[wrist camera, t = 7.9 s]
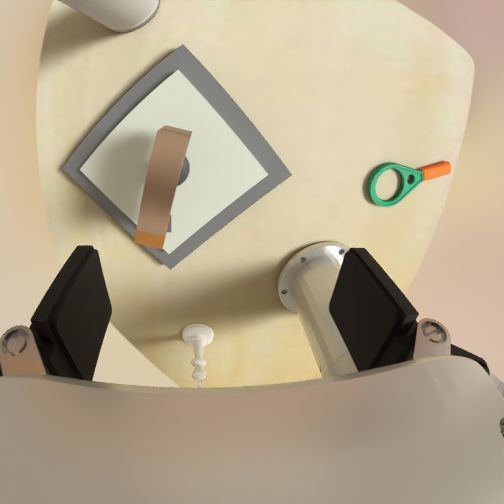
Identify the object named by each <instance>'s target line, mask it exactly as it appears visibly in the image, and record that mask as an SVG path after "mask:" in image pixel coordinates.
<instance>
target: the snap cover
mask: <svg viewBox="0 0 504 504" xmlns="http://www.w3.org/2000/svg"><path fill="white" fill-rule="evenodd" d="M165 125H166V126H171V127H175V128H180V129H184V130H188V131H192V135H191V138H190V141H189V145H188V148H187V151H186V155H185V158H184V162H183V165H182V169H181V174H180V177H179V180H178V184H177V188H176V192H175V196H174V200H173V204H172V209H171V213H170V220H169V224H168V228H167V233H166V237H165V241H164V245H163V249H158V248H154V247H149V246H145V245H143V246H144V247H145V248H146V249H147V250H148V251H150V252H151V253H152V254H153V255H154V256H155V257H156V258H158V259H159V260H160V261H161V262H162V263H163V264H165V265H166V266H167V267H168V268H169V269H170V270H171V269H172V268H173V267H174V266H175V265H177V264H178V263H179V262H180V261H182V260H183V259H184V258H185V257H186V256H188V255H189V254H190V253H191V252H193V251H194V250H195V249H196V248H198V247H199V246H200V245H201V244H203V243H204V242H205V241H206V240H208V239H209V238H210V237H211V236H213V235H214V234H215V233H216V232H218V231H219V230H220V229H222V228H223V227H224V226H225V225H227V224H228V223H229V222H230V221H232V220H233V219H234V218H236V217H237V216H238V215H240V214H241V213H242V212H243V211H245V210H246V209H247V208H249V207H250V206H251V205H253V204H254V203H255V202H256V201H258V200H259V199H260V198H262V197H263V196H264V195H266V194H267V193H268V192H270V191H271V190H272V189H274V188H275V187H276V186H278V185H279V184H280V183H282V182H283V181H284V180H286V179H287V178H289V177H290V176H291V175H292V174H291V173H290V172H289V170H288V169H287V167H286V166H285V165H284V163H283V162H282V161H281V159H280V158H279V157H278V155H277V154H276V153H275V151H274V150H273V149H272V147H271V146H270V145H269V144H268V142H267V141H266V140H265V138H264V137H263V136H262V135H261V133H260V132H259V131H258V130H257V128H256V127H255V126H254V124H253V123H252V122H251V121H250V120H249V118H248V117H247V116H246V115H245V113H244V112H243V111H242V110H241V109H240V107H239V106H238V105H237V104H236V103H235V101H234V100H233V99H232V98H231V97H230V95H229V94H228V93H227V92H226V91H225V90H224V89H223V87H222V86H221V85H220V84H219V83H218V82H217V81H216V79H215V78H214V77H213V76H212V75H211V74H210V73H209V72H208V70H207V69H206V68H205V67H204V66H203V65H202V64H201V63H200V62H199V61H198V60H197V59H196V57H195V56H194V55H193V54H192V53H191V52H190V51H189V50H188V49H187V48H186V47H185V46H184V45H182V46H180V47H179V48H178V49H176V50H175V51H174V52H172V53H171V54H170V55H169V56H167V57H166V58H165V59H164V60H162V61H161V62H160V63H159V64H158V65H157V66H155V67H154V68H153V69H152V70H151V71H150V72H148V73H147V74H146V75H145V76H144V77H143V78H142V79H141V80H140V81H138V82H137V83H136V84H135V85H134V86H133V87H132V88H131V89H130V90H129V91H128V92H127V93H126V94H125V95H124V96H123V97H122V98H121V99H120V100H119V101H118V102H117V103H116V104H115V105H114V106H113V107H112V108H111V109H110V110H109V111H108V113H107V114H106V115H105V116H104V117H103V118H102V119H101V120H100V121H99V122H98V124H97V125H96V126H95V127H94V128H93V129H92V131H91V132H90V133H89V134H88V135H87V137H86V138H85V139H84V140H83V141H82V143H81V144H80V145H79V147H78V148H77V149H76V150H75V152H74V153H73V154H72V156H71V157H70V158H69V160H68V161H67V162H66V164H65V165H64V166H63V168H62V169H63V170H64V171H65V172H66V173H67V174H68V175H69V176H70V177H71V178H72V179H73V180H74V181H75V182H76V183H77V184H78V185H79V186H80V187H81V188H82V189H83V190H84V191H85V192H86V193H87V194H88V195H89V196H90V197H91V198H92V199H93V200H94V201H95V202H96V203H97V204H98V205H99V206H100V207H101V208H102V209H103V210H105V211H106V212H107V213H108V214H109V215H110V216H111V217H112V218H113V219H114V220H115V221H116V222H117V223H118V224H119V225H121V226H122V227H123V228H124V229H125V230H126V231H127V232H128V233H129V234H130V235H132V236H133V237H134V238H135V232H136V229H137V224H138V217H139V211H140V206H141V200H142V195H143V190H144V185H145V180H146V175H147V171H148V166H149V162H150V158H151V153H152V149H153V145H154V141H155V138H156V134H157V131H158V130H159V129H161V128H162V127H164V126H165Z"/></svg>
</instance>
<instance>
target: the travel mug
mask: <svg viewBox="0 0 504 504" xmlns="http://www.w3.org/2000/svg"><path fill="white" fill-rule="evenodd" d="M58 1H60V2H62V3H64V4H66V5H68V6H70V7H72V8H74V9H76V10H78V11H79V12H81V13H83V14H85V15H87V16H88V17H90V18H92V19H94V20H95V21H97V22H99V23H101V24H102V25H104V26H106V27H107V28H109V29H111V30H113V31H116V32H130V31H133V30H136V29H138V28H140V27H142V26H144V25H145V24H147V23H148V22H149V21H150V20H151V19H152V18H153V17H154V16H155V14H156V13H157V11H158V9H159V5H160V0H58Z"/></svg>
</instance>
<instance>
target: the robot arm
mask: <svg viewBox="0 0 504 504" xmlns="http://www.w3.org/2000/svg"><path fill="white" fill-rule="evenodd" d="M277 289H278V294H279V297H280V300H281V302H282V303H283V305H284V306H285V307H286V308H287V309H288V310H290V311H292V312H294V313H297V314H298V315H299V318H300V320H301V323H302V326H303V328H304V331H305V333H306V336H307V338H308V341H309V344H310V346H311V349H312V351H313V354H314V356H315V359H316V362H317V364H318V367H319V370H320V372H321V375H322V377H323V378H321V379H314V380H306V381H299V382H290V383H281V384H271V385H259V386H244V387H220V388H172V387H170V388H169V387H149V386H135V385H122V384H113V383H104V382H95V381H92V379H93V375H94V371H95V367H96V364H97V360H98V356H99V353H100V349H101V346H102V342H103V339H104V336H105V333H106V330H107V326H108V323H109V320H110V317H111V313H112V307H111V303H110V299H109V296H108V292H107V288H106V284H105V280H104V276H103V272H102V267H101V263H100V258H99V254H98V251H97V250H96V249H94V248H93V246H77V247H76V248H75V250H74V251H73V253H72V254H71V256H70V257H69V258H68V260H67V261H66V263H65V264H64V266H63V267H62V269H61V270H60V272H59V273H58V275H57V276H56V278H55V280H54V281H53V283H52V284H51V286H50V287H49V289H48V291H47V292H46V294H45V296H44V297H43V299H42V301H41V302H40V304H39V306H38V308H37V309H36V311H35V313H34V315H33V316H32V318H31V322H32V324H31V326H30V328H28V327H26V326H22V325H21V326H15V327H12V328H10V329H9V330H7V331H6V332H5V333H4V334H3V335H2V337H1V339H0V504H504V383H503V382H502V381H500V380H499V379H498V378H497V377H495V376H494V375H493V374H491V375H490V373H489V368H488V366H487V364H486V362H485V360H483V359H482V358H480V357H478V356H476V355H474V354H472V353H469V352H467V351H465V350H463V349H461V348H459V347H457V346H455V345H452V344H450V334H449V332H448V330H447V329H446V328H445V327H444V326H443V325H442V324H441V323H440V322H438V321H436V320H433V319H429V318H425V319H422V320H421V321H419V322H418V323H417V321H416V318H417V316H418V314H419V313H418V312H417V311H416V309H415V308H414V307H413V306H412V304H411V303H410V302H409V301H408V299H407V298H406V297H405V295H404V294H403V293H402V292H401V290H400V289H399V288H398V287H397V285H396V284H395V283H394V282H393V281H392V279H391V278H390V277H389V276H388V275H387V273H386V272H385V271H384V270H383V269H382V267H381V266H380V265H379V264H378V263H377V262H376V260H375V259H374V258H373V257H372V256H371V255H370V254H369V252H368V251H367V250H366V249H365V248H349V247H347V246H346V245H344V244H341V243H338V242H321V243H317V244H314V245H311V246H309V247H306V248H304V249H303V250H301V251H300V252H298V253H297V254H295V255H294V256H293V257H292V258H291V259H290V260H289V261H288V262H287V263H286V265H285V266H284V268H283V269H282V271H281V273H280V276H279V279H278V285H277Z"/></svg>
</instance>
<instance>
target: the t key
mask: <svg viewBox="0 0 504 504" xmlns="http://www.w3.org/2000/svg"><path fill="white" fill-rule="evenodd" d="M191 135H192V131H188V130H184V129H180V128H175V127H171V126H166V125H165V126H164V127H162V128H161V129H159V130H158V131H157V134H156V138H155V141H154V145H153V149H152V153H151V158H150V162H149V166H148V171H147V175H146V180H145V185H144V190H143V195H142V200H141V206H140V211H139V217H138V224H137V229H136V232H135V239H134V243H135V244H140V245H145V246H149V247H154V248H158V249H163V245H164V241H165V237H166V233H167V228H168V224H169V220H170V213H171V209H172V204H173V200H174V196H175V192H176V188H177V184H178V180H179V177H180V174H181V169H182V165H183V162H184V158H185V155H186V151H187V148H188V145H189V141H190V138H191Z"/></svg>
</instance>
